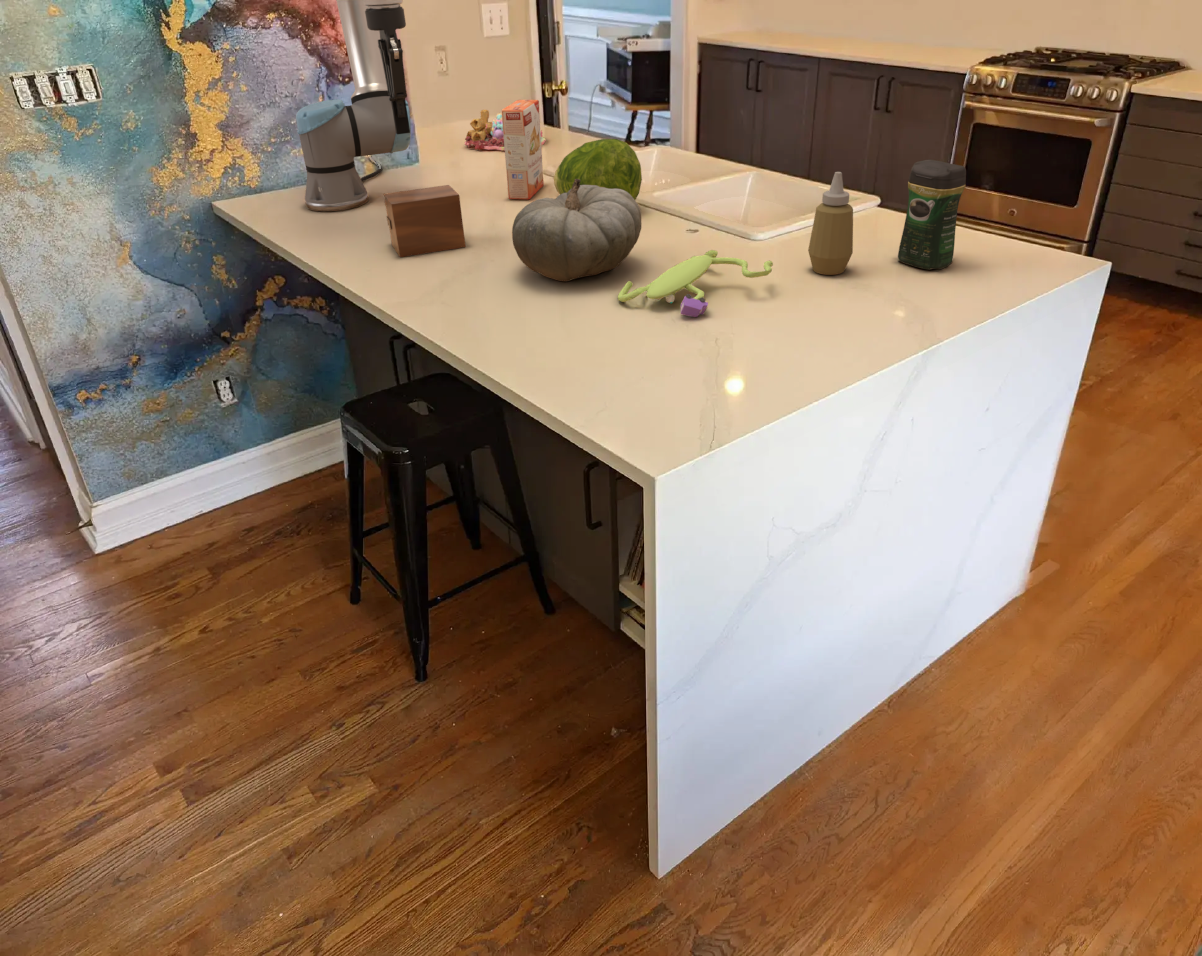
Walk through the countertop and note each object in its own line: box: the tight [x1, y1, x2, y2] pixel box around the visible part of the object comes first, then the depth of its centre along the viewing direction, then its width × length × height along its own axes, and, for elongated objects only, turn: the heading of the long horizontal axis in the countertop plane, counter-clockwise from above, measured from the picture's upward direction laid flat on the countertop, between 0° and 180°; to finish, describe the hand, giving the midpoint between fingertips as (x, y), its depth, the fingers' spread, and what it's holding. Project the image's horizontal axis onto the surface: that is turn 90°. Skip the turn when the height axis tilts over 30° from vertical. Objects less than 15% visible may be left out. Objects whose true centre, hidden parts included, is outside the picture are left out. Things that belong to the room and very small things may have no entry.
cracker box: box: [501, 99, 545, 201], centre depth 217 cm, size 14×6×21 cm, turn 168°
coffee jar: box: [897, 159, 967, 270], centre depth 163 cm, size 10×8×19 cm
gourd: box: [511, 179, 642, 282], centre depth 169 cm, size 25×25×17 cm
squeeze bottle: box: [807, 171, 854, 276], centre depth 162 cm, size 8×8×18 cm
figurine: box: [617, 249, 774, 318], centre depth 158 cm, size 18×27×6 cm
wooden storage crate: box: [383, 184, 466, 258], centre depth 187 cm, size 9×14×11 cm, turn 112°
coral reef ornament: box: [464, 109, 546, 151], centre depth 271 cm, size 25×24×9 cm
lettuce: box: [553, 138, 643, 201], centre depth 204 cm, size 17×23×16 cm
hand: (403, 132), depth 186 cm, fingers closed
